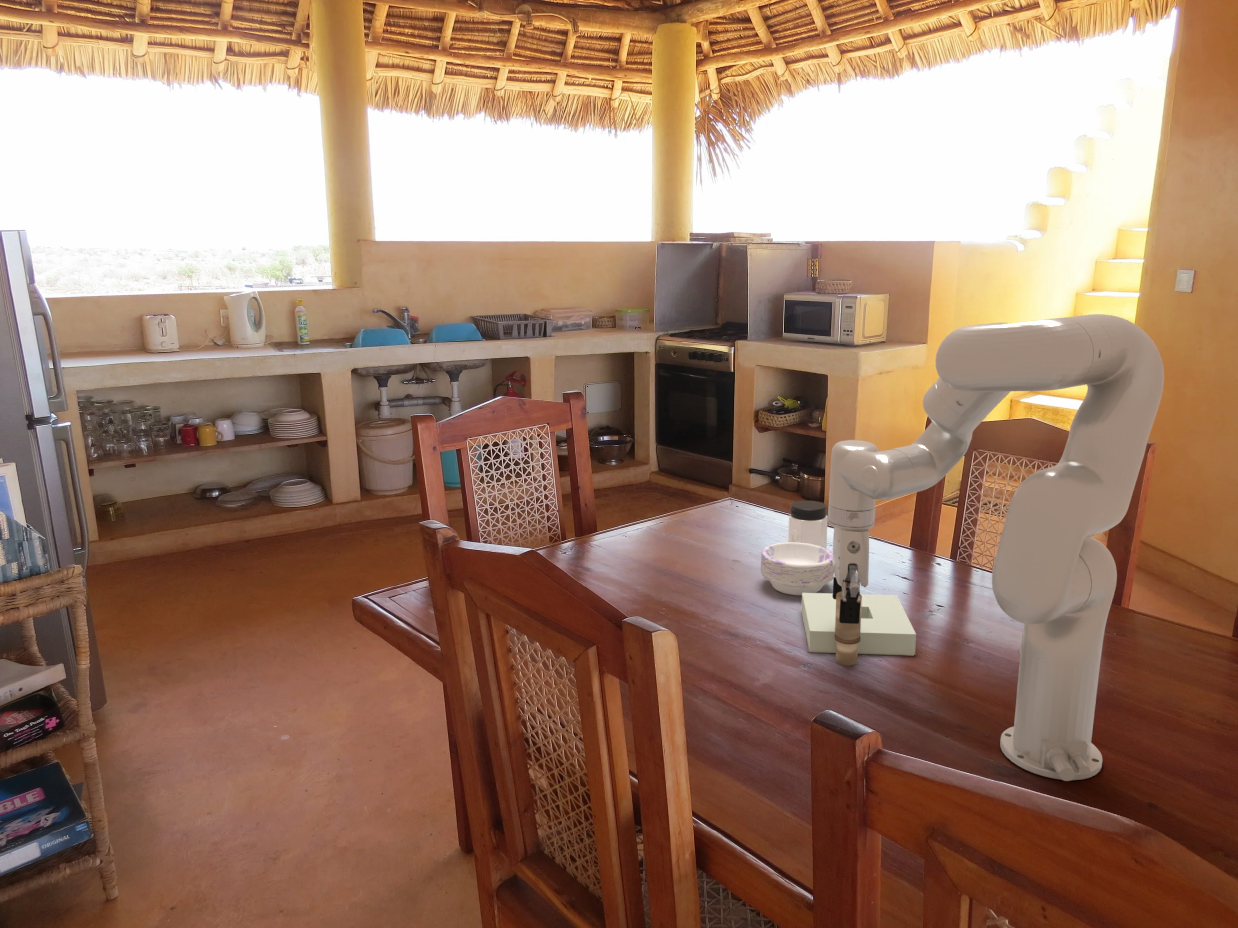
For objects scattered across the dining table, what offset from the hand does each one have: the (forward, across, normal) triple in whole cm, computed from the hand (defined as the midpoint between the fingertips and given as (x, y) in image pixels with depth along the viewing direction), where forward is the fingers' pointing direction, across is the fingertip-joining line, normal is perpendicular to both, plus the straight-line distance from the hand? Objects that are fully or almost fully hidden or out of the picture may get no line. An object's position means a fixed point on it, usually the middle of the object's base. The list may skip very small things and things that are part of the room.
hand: (845, 610), depth 145 cm
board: (+9, +11, -4) cm, 15 cm away
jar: (+10, +55, +1) cm, 56 cm away
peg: (+9, -1, -1) cm, 9 cm away
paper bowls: (+10, +33, +5) cm, 35 cm away
